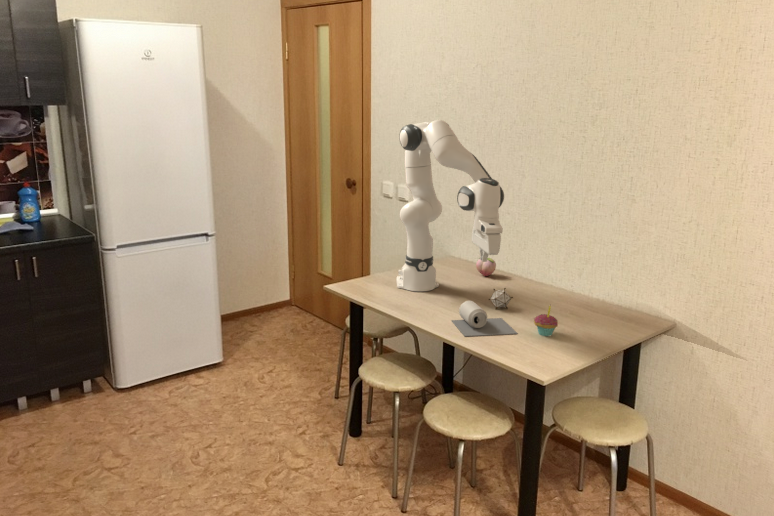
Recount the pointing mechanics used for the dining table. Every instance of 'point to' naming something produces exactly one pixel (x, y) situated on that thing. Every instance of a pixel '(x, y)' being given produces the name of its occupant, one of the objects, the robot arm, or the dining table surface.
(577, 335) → the dining table surface
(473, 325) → the can
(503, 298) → the game die
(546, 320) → the cupcake
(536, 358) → the dining table surface
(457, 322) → the mat
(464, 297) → the dining table surface
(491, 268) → the decorative fruit
